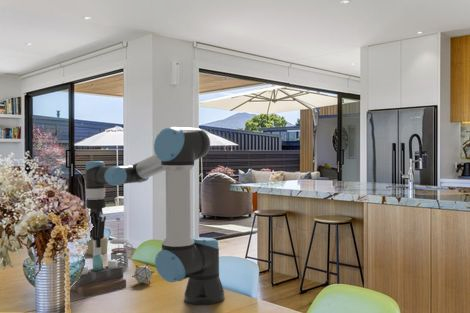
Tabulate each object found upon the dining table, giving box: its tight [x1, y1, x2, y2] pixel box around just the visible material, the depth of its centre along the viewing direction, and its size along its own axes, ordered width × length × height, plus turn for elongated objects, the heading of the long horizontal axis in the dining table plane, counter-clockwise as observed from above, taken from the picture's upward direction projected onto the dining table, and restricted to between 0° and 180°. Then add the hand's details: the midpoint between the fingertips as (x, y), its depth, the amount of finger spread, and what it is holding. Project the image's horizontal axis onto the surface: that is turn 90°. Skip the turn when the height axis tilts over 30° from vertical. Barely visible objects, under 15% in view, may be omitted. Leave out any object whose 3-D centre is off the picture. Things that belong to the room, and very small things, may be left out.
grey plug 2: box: [107, 259, 118, 269], centre depth 197 cm, size 4×4×6 cm
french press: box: [109, 217, 134, 273], centre depth 221 cm, size 10×12×25 cm
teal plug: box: [92, 254, 104, 271], centre depth 193 cm, size 4×4×6 cm
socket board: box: [70, 265, 127, 297], centre depth 193 cm, size 14×19×8 cm
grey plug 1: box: [81, 264, 89, 275], centre depth 189 cm, size 4×4×6 cm
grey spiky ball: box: [131, 263, 155, 286], centre depth 198 cm, size 9×8×10 cm
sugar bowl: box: [86, 232, 108, 256], centre depth 260 cm, size 15×11×15 cm
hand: (97, 254), depth 193 cm, fingers closed
